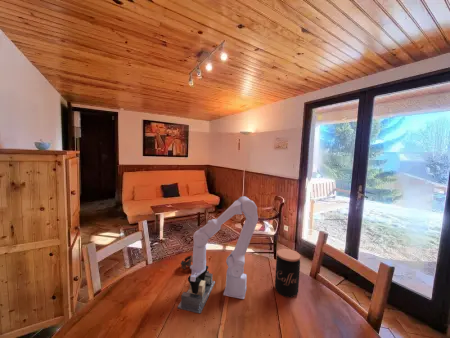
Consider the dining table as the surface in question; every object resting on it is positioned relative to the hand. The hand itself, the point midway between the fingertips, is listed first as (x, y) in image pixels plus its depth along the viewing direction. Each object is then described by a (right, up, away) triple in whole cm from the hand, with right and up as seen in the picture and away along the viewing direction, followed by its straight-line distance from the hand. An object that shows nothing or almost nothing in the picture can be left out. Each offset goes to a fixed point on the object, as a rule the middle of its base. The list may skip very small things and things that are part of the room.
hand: (198, 287), depth 89 cm
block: (-1, -3, 0) cm, 3 cm away
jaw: (+2, -2, +10) cm, 10 cm away
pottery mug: (-6, -2, +20) cm, 21 cm away
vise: (0, -3, +1) cm, 3 cm away
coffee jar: (+41, -5, +5) cm, 42 cm away
